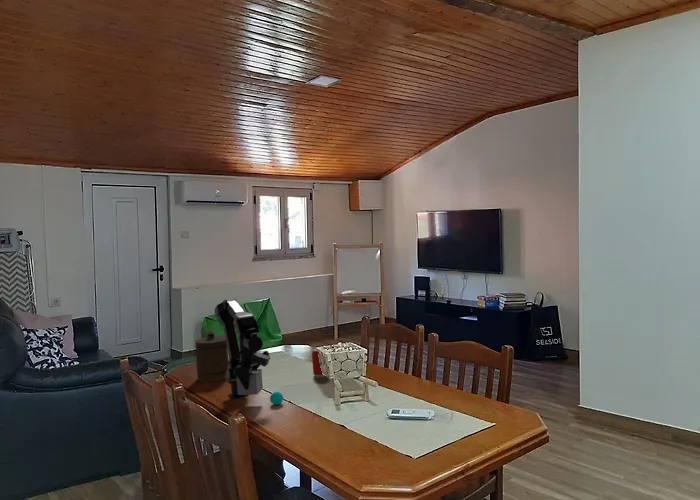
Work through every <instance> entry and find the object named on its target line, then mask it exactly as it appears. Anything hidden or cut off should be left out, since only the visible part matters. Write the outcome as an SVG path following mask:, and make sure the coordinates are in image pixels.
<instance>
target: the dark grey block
mask: <svg viewBox="0 0 700 500" xmlns="http://www.w3.org/2000/svg"><path fill="white" fill-rule="evenodd" d="M252 372H253V373H252V374H251V375H250V376H249V387H248V390H245V388H244V387H243V385H242V383H241V381H240V380H239V378H238V377H237V389H238V395H246V396H250V395H252V396H253V395H255V396H257V395H258V394H259V393H260V392H261V391H262V390H263V389H264V387H263V386H264V385H263V375H262V374H263V372H262V369H261V368H258V369H252Z"/></svg>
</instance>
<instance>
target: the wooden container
mask: <svg viewBox="0 0 700 500" xmlns="http://www.w3.org/2000/svg"><path fill="white" fill-rule="evenodd" d="M206 335H207V336H206V337H202V338H199V339H196V340H195V355H196V356H195V357H196V358H195V359H196V374H197V376H196V377H197V381H199V380H200V381H199V382H202V381H214V382H219V381H224V380H226V378H225V375H226V372H227V369H228V368H227V365H228V363H229V360H230V358H229V353H228V348H227V343H226V339H225V335H224V336H222V335H220V336H219V335H216V332H214V331H213V330H210V331H208V332H207V333H206ZM215 335H216V336H215Z"/></svg>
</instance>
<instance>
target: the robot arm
mask: <svg viewBox="0 0 700 500" xmlns="http://www.w3.org/2000/svg"><path fill="white" fill-rule="evenodd" d="M214 315H215V317H216V318H217V322H218V323H219V324H220V325H221V326H222V328H223V333H224V337H225V339H226V343H227V348H228V356H229V363H228V365H227V368H228V369H227V372H226V375H225V378H226V379H225V382H226V383H228V384H230V392H231V393H228V394H227V395H228V396H229V397H230V398H233V399H238V398H241V397H246V396H247V395H238V389H237V377H238V378H239V380H240V381H241V383H242V385H243V387H244V388H245V390H248V387H249V376H250V375H251V374H252V373H253V372H252V369H259V368H260V367H261V366H262V367H267V365H268V364H269V363H270V360H271V355H270V352H269V351H268V350H264V351H262V352H259V351H260V350H261V349H262V348H263V345H264V344H263V339H262V338H260V336H258V334H259V333H260V327H259V324H258V322H257V319H256V317H255V316H254V315H253V314H252V313H251V312H246V311H244V309H243V308H242V307H241V306H240V305H239V303H238V301H237V298H227V299H224V300H223V301H222V302H220V303H219V304H217V305H216V306H215V308H214ZM237 334H238V337H237Z"/></svg>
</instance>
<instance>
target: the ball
mask: <svg viewBox="0 0 700 500" xmlns="http://www.w3.org/2000/svg"><path fill="white" fill-rule="evenodd" d="M270 394H271V395H270V397H269V399H270V402H271V404H273V405H275V406H276V405H277V406H278V405H280V404H282V402H283V401H284V396H283V394H282V393H281V392H280V391H274V392H272V393H270Z"/></svg>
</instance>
